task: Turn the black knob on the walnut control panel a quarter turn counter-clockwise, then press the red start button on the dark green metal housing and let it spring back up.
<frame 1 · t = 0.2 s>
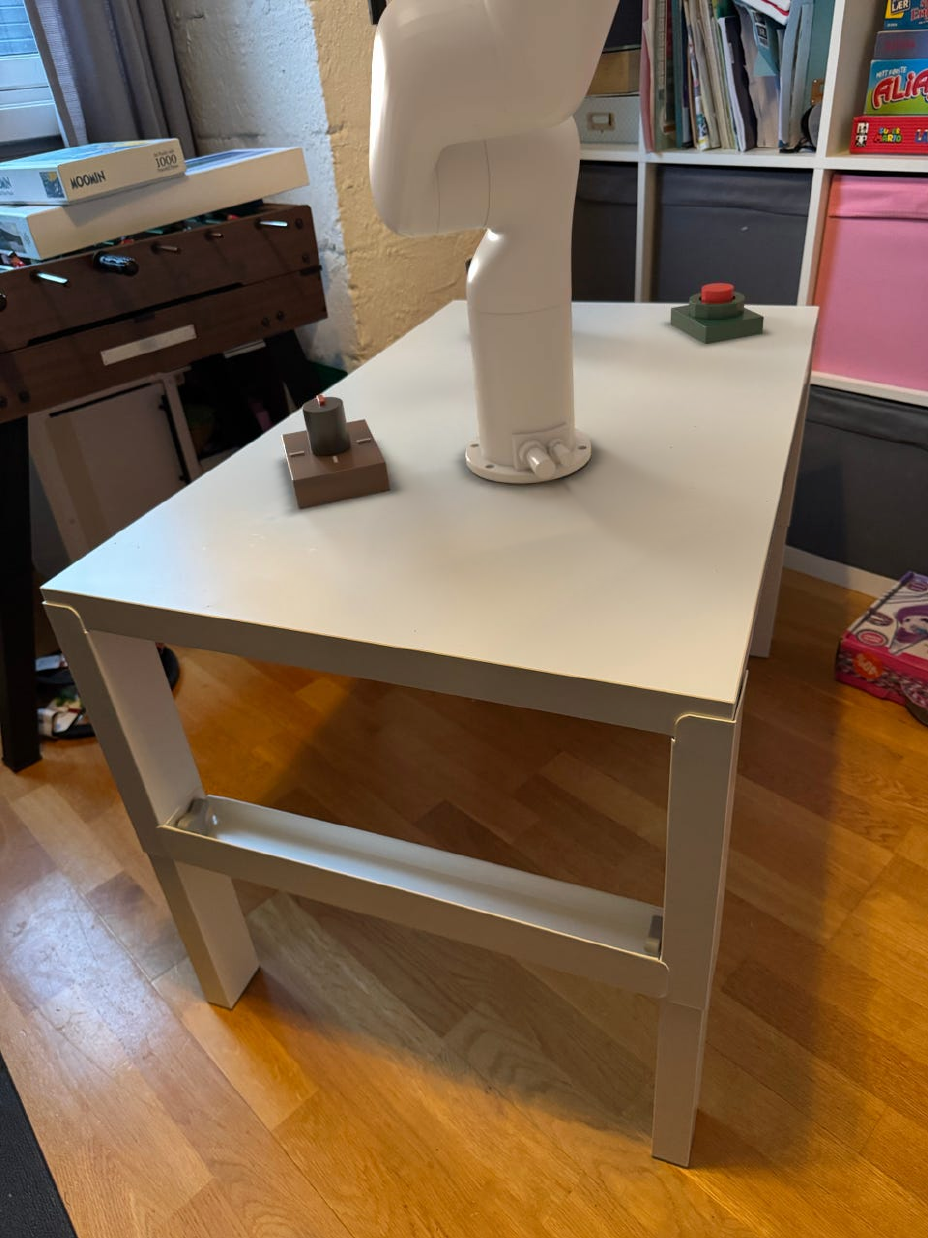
hand: (431, 27, 87), 37 cm above the table, tool pointing down, fingers open, 9 cm apart
control panel: (336, 474, 90), on the table
button housing: (714, 328, 116), on the table
pen holder: (505, 336, 123), on the table
start button: (717, 293, 114), point 4 cm above the table, slide at 0.1 cm
dial: (326, 424, 87), point 5 cm above the table, hinge at 0.0°
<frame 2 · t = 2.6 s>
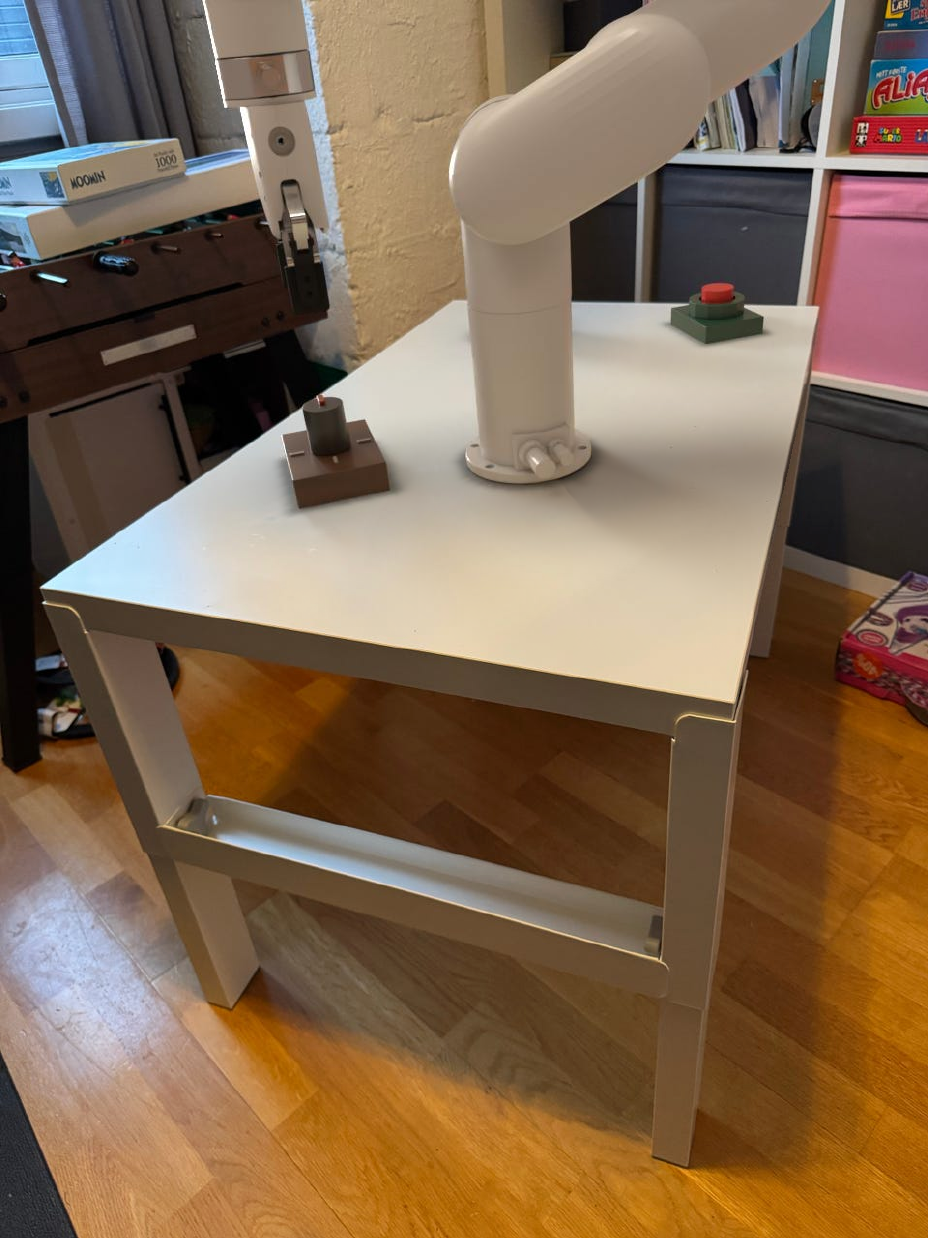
hand: (306, 298, 81), 17 cm above the table, tool pointing down, fingers open, 9 cm apart
nothing on the table moved.
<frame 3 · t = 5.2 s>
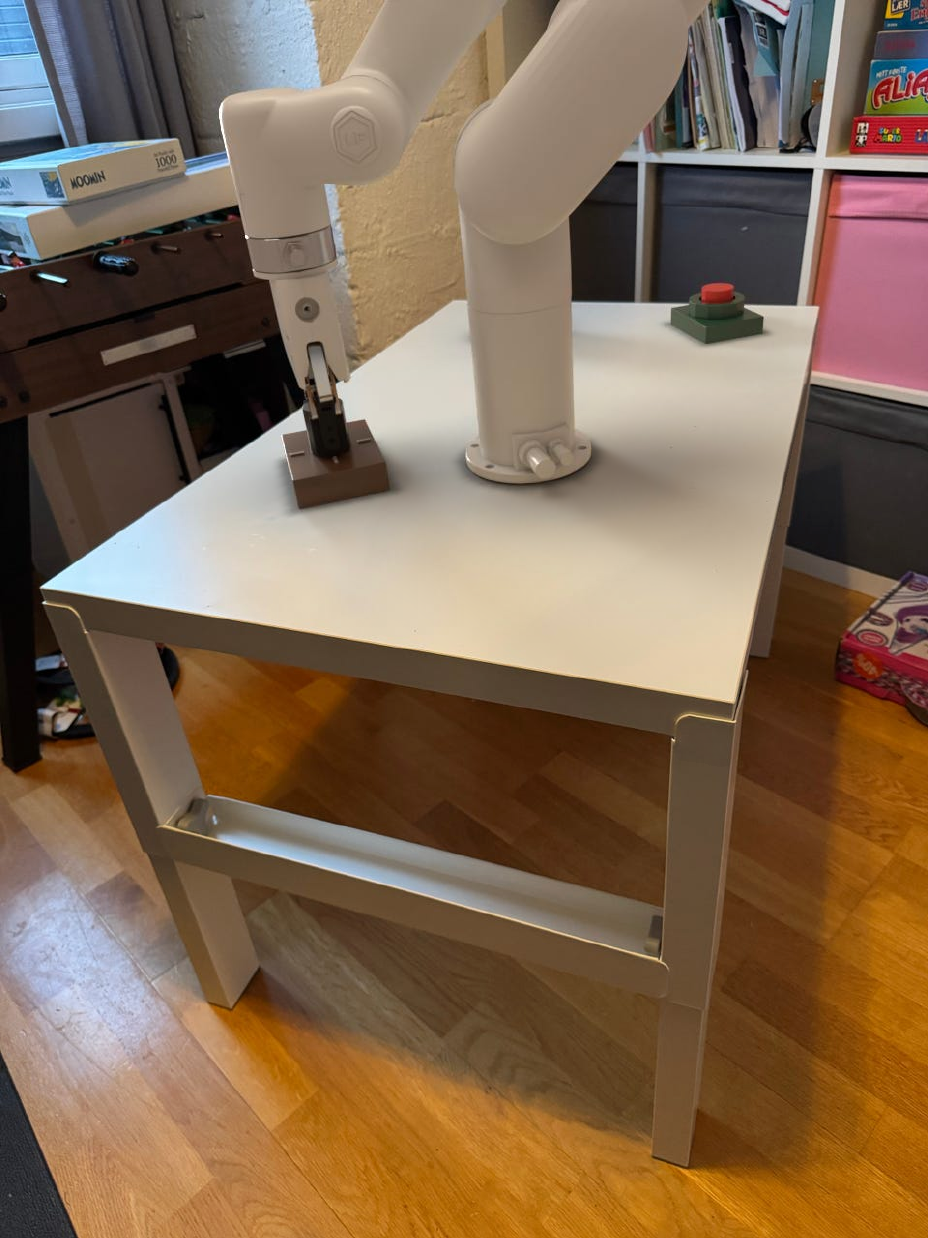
hand: (329, 442, 88), 4 cm above the table, tool pointing down, fingers closed on dial, 4 cm apart
dial: (326, 424, 87), point 5 cm above the table, hinge at 0.0°, touching gripper
everything else where it was.
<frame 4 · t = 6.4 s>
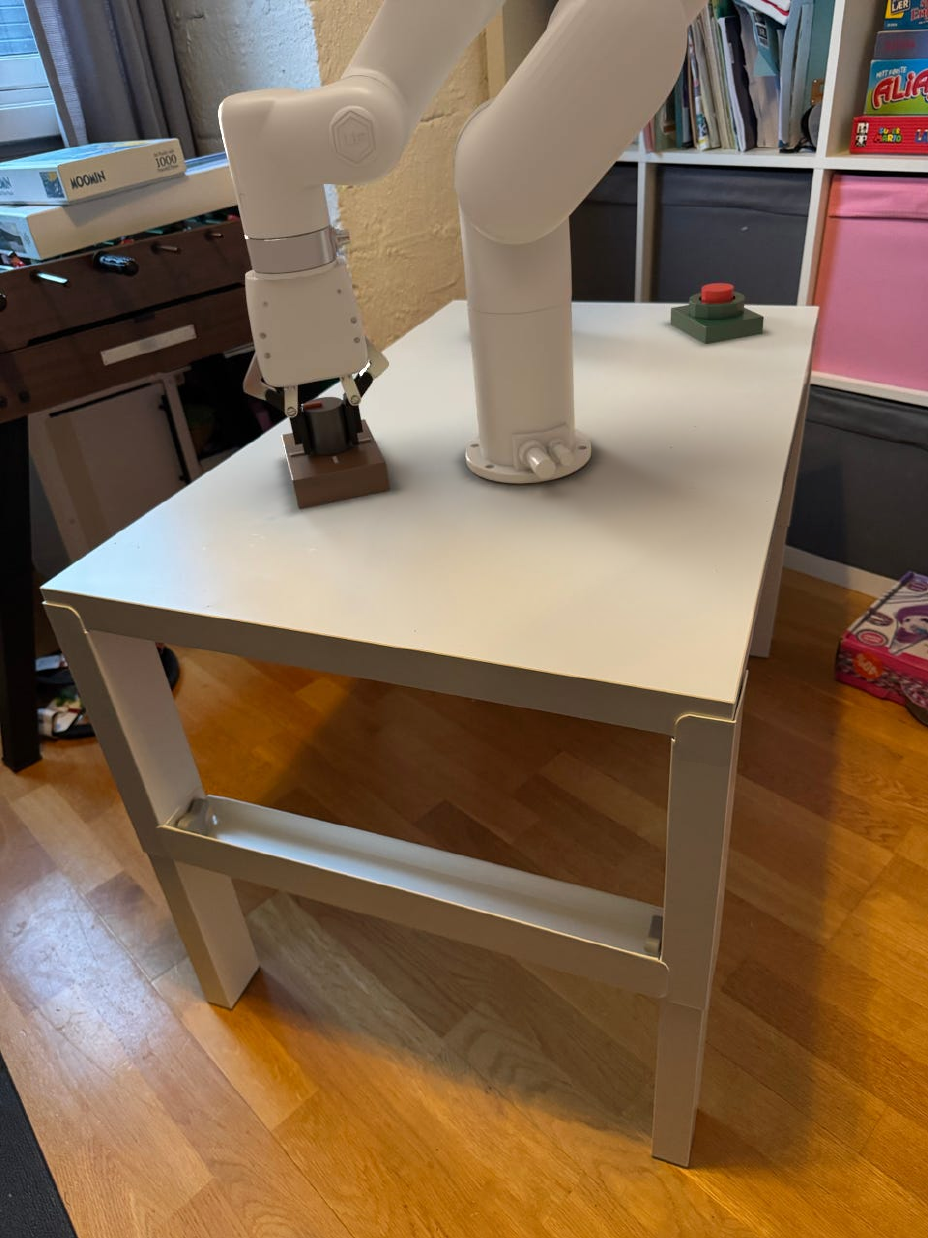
hand: (329, 443, 88), 3 cm above the table, tool pointing down, fingers closed on dial, 4 cm apart
dial: (326, 424, 87), point 5 cm above the table, hinge at 89.8°, touching gripper
everything else where it was.
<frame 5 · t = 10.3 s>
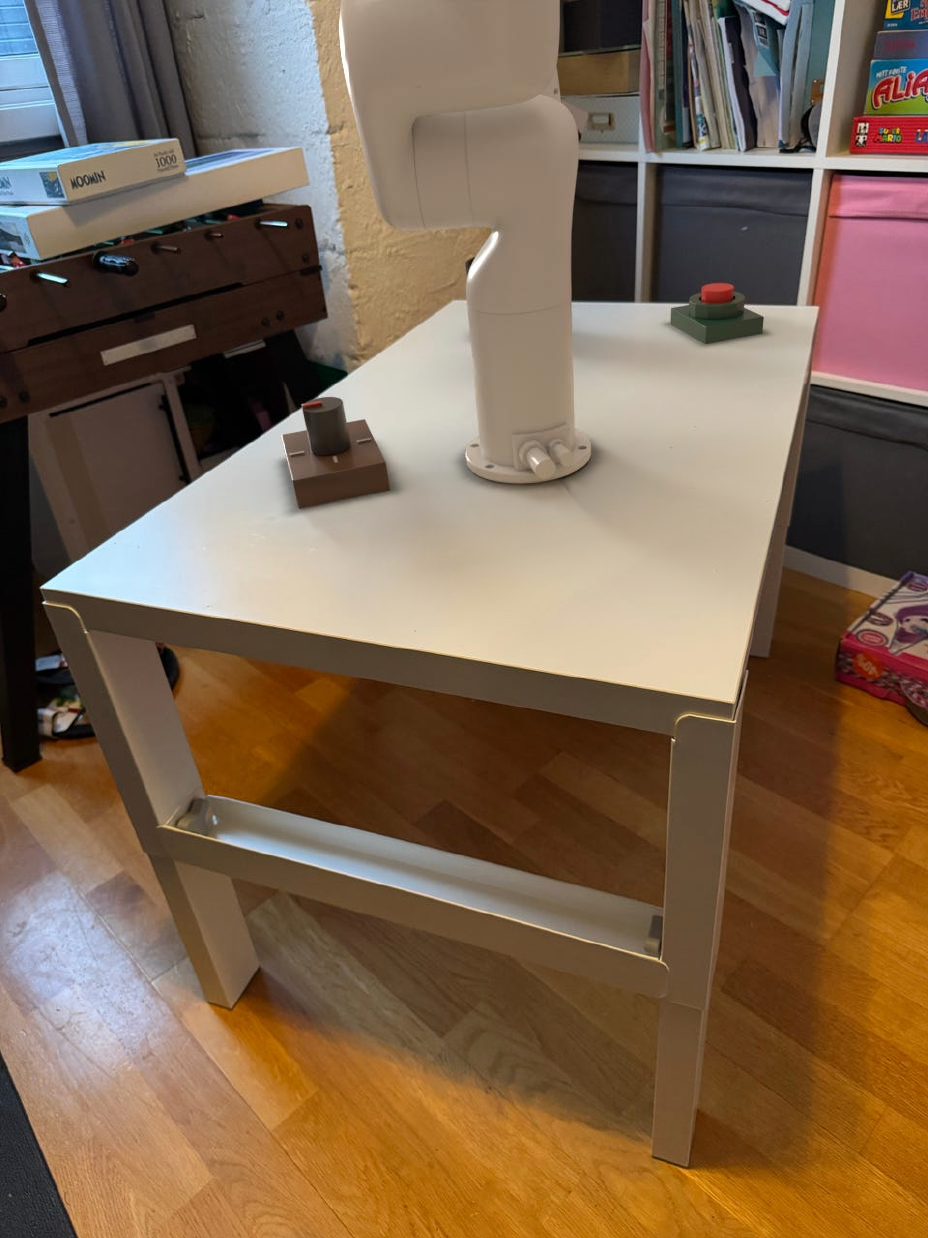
hand: (519, 202, 104), 18 cm above the table, tool pointing down, fingers open, 9 cm apart
dial: (326, 424, 87), point 5 cm above the table, hinge at 89.7°
everything else where it was.
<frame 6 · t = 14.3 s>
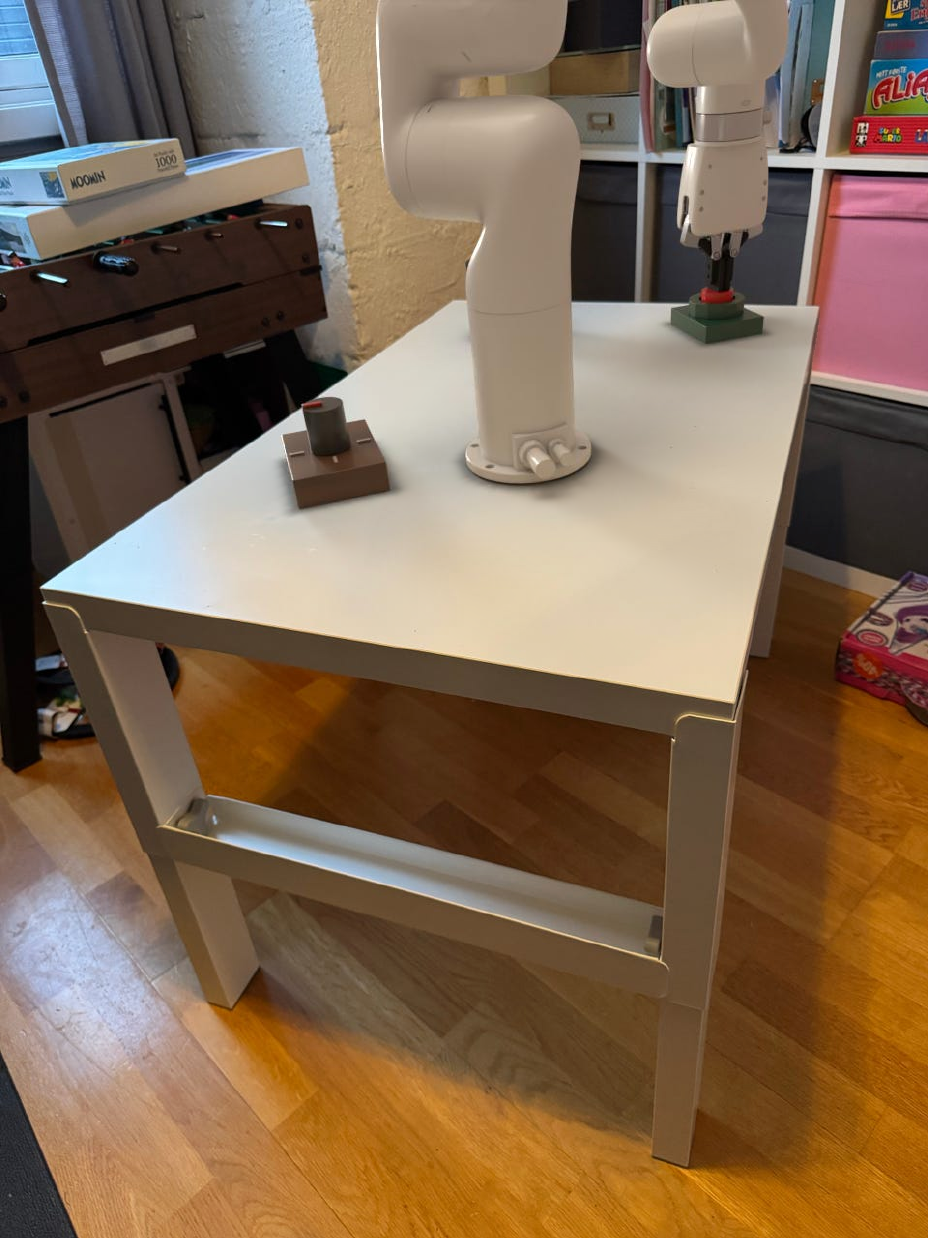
hand: (718, 288, 114), 5 cm above the table, tool pointing down, fingers closed
start button: (717, 296, 114), point 4 cm above the table, slide at -0.2 cm, touching gripper
everything else where it was.
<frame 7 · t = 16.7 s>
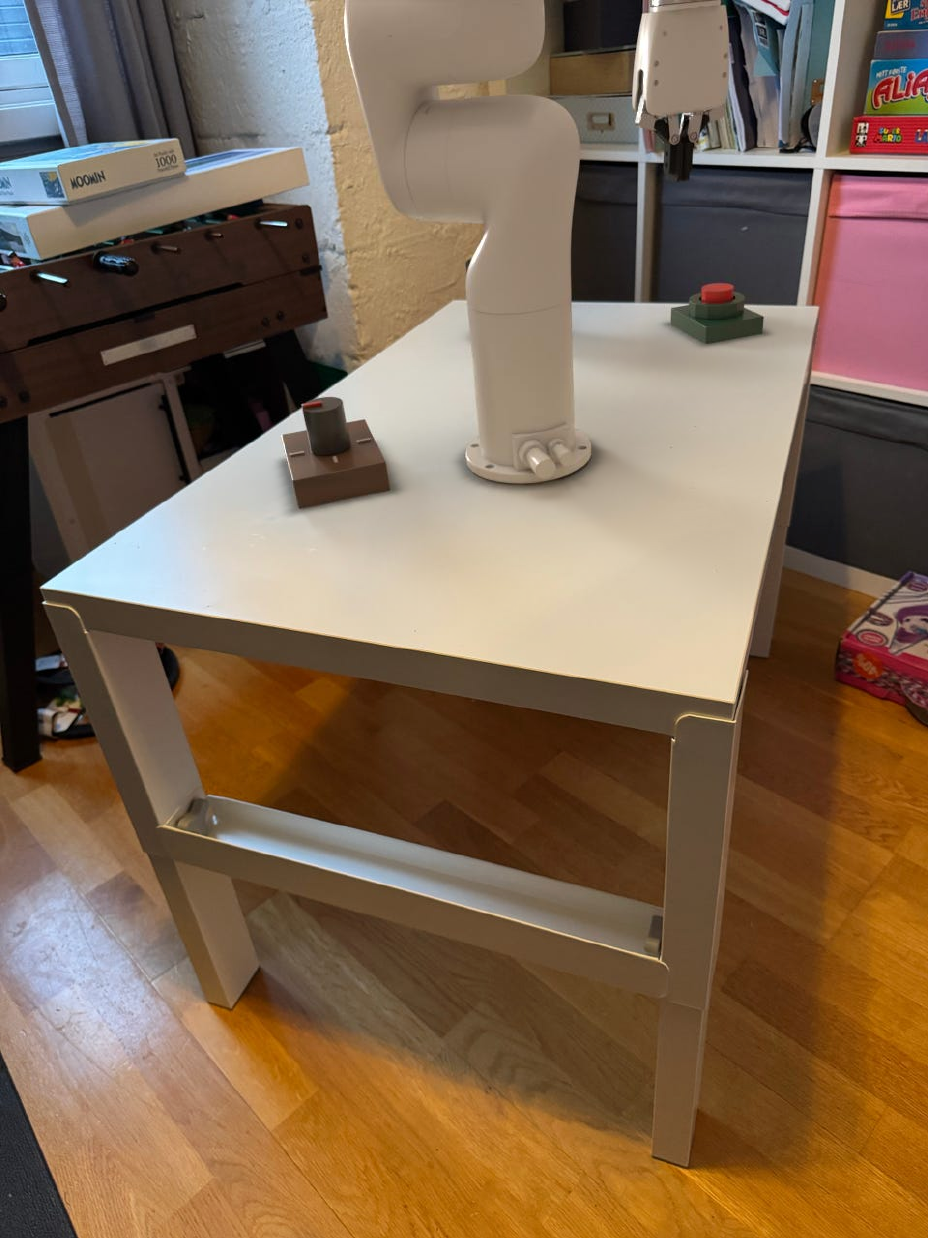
hand: (677, 179, 106), 19 cm above the table, tool pointing down, fingers closed
start button: (717, 293, 114), point 4 cm above the table, slide at 0.1 cm
everything else where it was.
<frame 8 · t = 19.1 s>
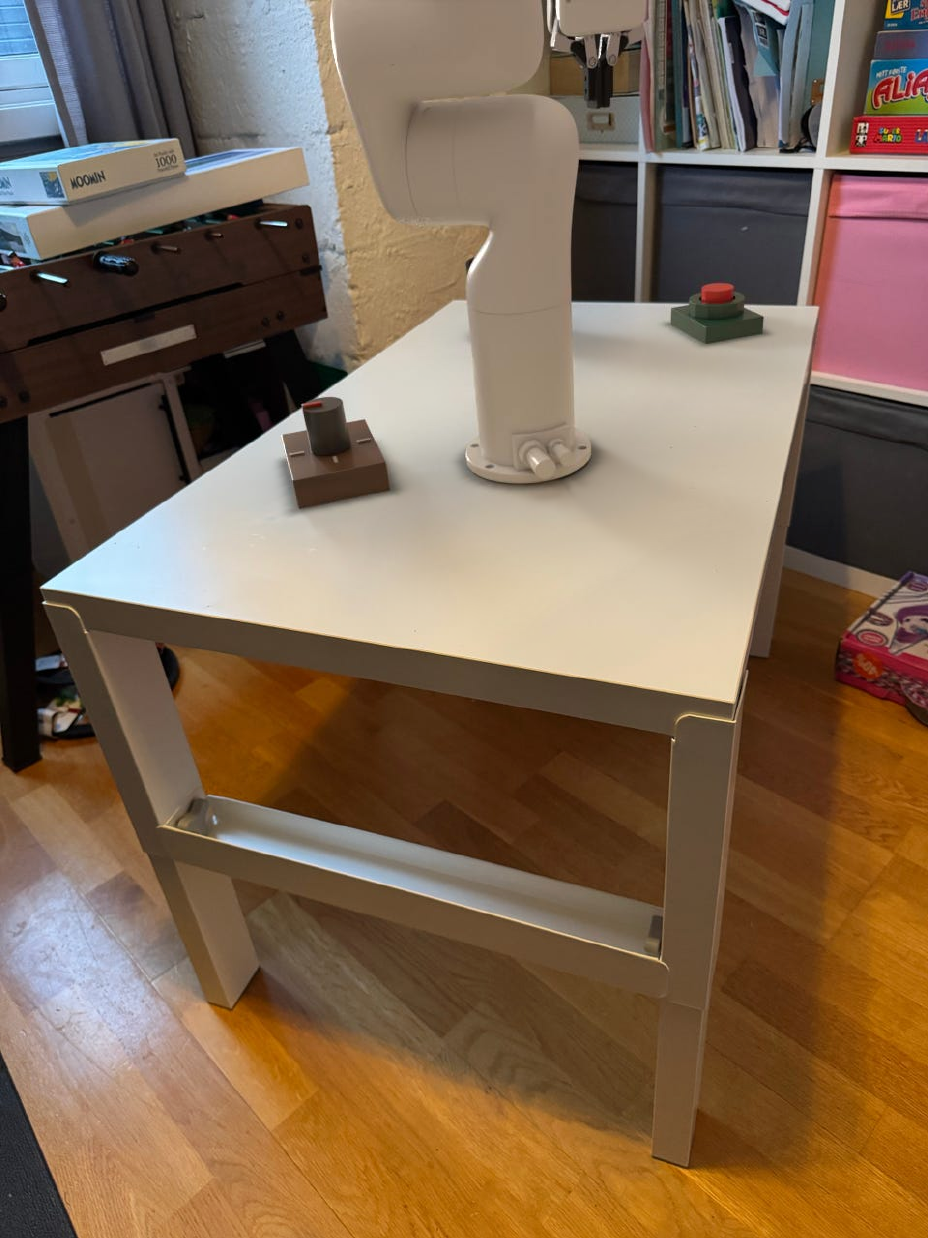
hand: (598, 106, 101), 27 cm above the table, tool pointing down, fingers closed
nothing on the table moved.
at the end: dial at +90° (first picture: +0°); start button pushed in 1.1 cm at the most during the clip, back to where it started at the end; start button slide at 0.1 cm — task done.
